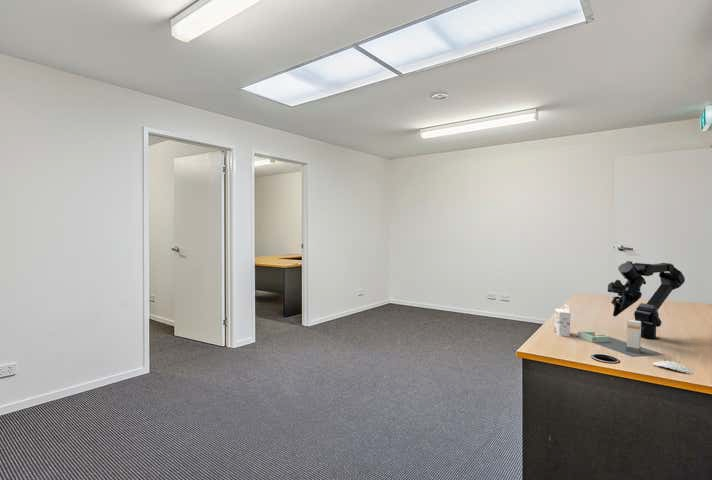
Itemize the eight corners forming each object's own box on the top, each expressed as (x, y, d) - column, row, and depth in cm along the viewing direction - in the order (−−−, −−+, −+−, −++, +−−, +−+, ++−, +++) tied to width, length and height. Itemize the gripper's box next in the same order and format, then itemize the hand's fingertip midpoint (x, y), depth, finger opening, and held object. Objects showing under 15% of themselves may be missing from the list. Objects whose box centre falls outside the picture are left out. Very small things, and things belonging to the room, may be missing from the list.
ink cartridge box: (553, 332, 194) (554, 302, 193) (564, 332, 193) (565, 302, 192) (558, 336, 186) (559, 305, 185) (570, 337, 185) (571, 306, 184)
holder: (594, 336, 186) (594, 331, 185) (610, 341, 177) (610, 336, 177) (578, 337, 184) (578, 331, 184) (593, 342, 175) (594, 337, 175)
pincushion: (648, 367, 146) (649, 352, 146) (654, 364, 149) (655, 349, 149) (689, 377, 136) (690, 361, 136) (695, 374, 140) (695, 358, 140)
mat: (603, 335, 189) (603, 334, 188) (665, 355, 159) (665, 354, 159) (574, 337, 185) (574, 336, 185) (632, 357, 156) (632, 356, 156)
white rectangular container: (627, 348, 166) (629, 319, 166) (641, 351, 163) (642, 321, 163) (625, 351, 163) (626, 321, 163) (639, 353, 160) (640, 323, 160)
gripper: (607, 283, 193) (592, 309, 189) (621, 269, 176) (606, 297, 173) (631, 295, 188) (617, 322, 184) (648, 282, 172) (633, 311, 168)
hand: (617, 313), depth 178 cm, fingers open, 9 cm apart
